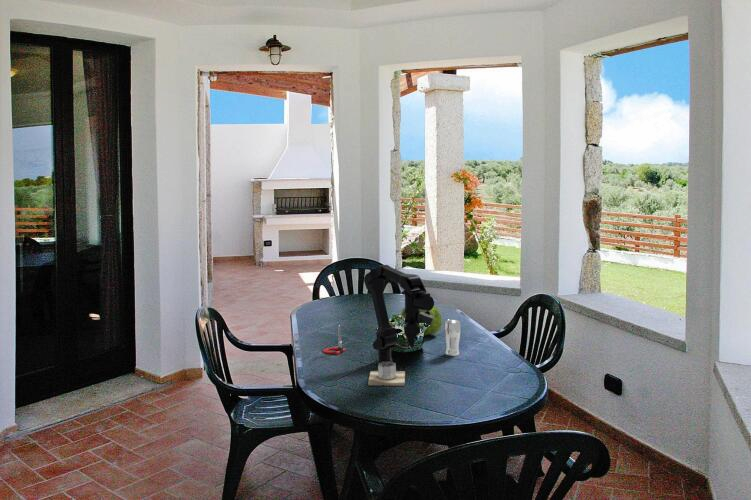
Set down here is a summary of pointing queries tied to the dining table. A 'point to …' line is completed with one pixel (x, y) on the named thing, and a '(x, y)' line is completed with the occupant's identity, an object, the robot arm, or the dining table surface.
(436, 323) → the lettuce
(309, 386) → the dining table surface
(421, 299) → the robot arm
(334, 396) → the dining table surface
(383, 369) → the aluminium ring
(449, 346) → the beer glass
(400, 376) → the birch base board
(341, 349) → the tow hook
